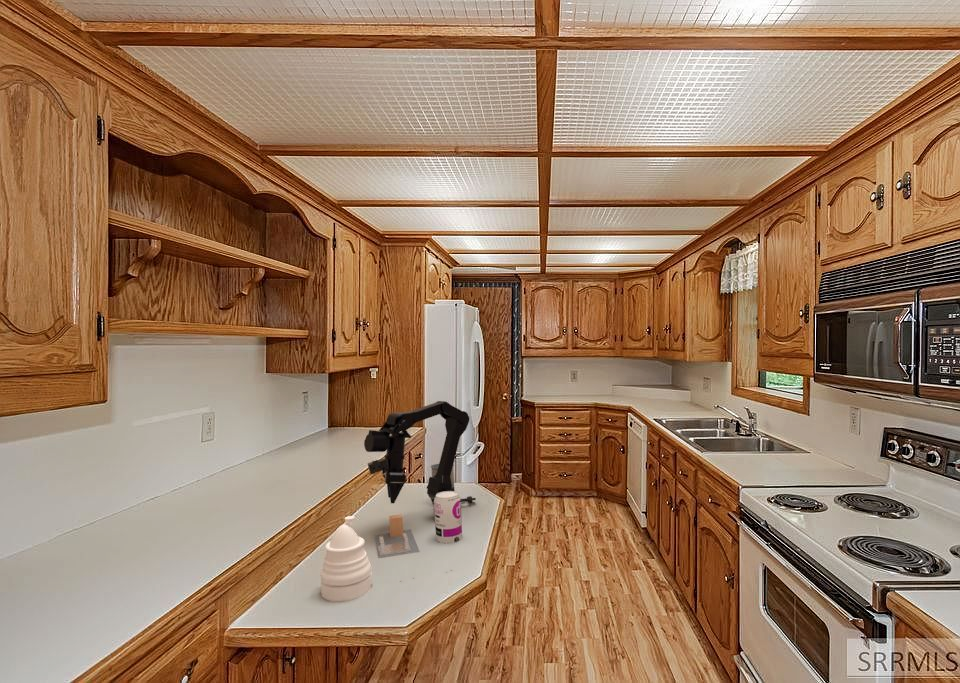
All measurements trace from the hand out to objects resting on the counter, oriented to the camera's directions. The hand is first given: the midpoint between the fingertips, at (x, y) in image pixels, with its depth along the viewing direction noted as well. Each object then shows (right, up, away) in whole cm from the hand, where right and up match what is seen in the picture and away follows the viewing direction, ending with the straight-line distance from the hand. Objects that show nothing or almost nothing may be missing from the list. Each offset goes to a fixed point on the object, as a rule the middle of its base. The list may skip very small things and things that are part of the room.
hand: (391, 500), depth 168 cm
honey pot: (-6, -13, -34) cm, 36 cm away
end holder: (+3, -11, -12) cm, 17 cm away
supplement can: (+19, -12, -6) cm, 23 cm away
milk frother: (+19, -12, +33) cm, 40 cm away
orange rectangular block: (+2, -11, 0) cm, 11 cm away
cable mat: (+3, -12, -7) cm, 14 cm away
